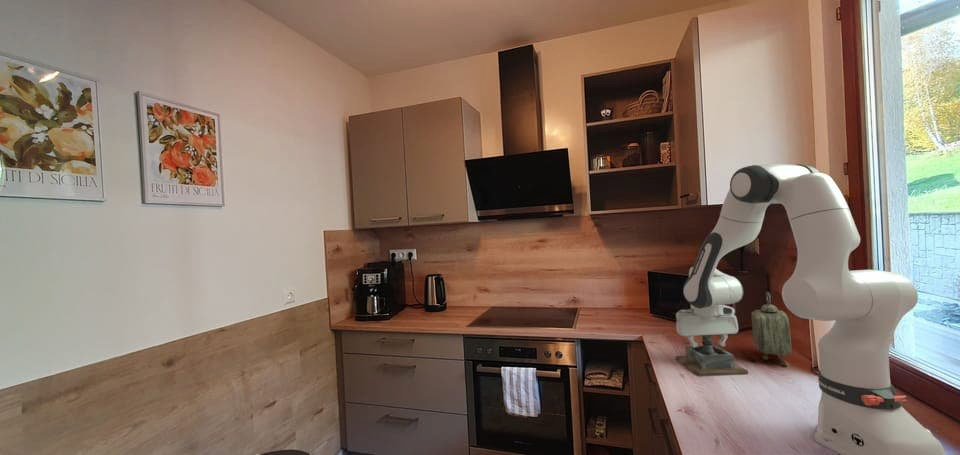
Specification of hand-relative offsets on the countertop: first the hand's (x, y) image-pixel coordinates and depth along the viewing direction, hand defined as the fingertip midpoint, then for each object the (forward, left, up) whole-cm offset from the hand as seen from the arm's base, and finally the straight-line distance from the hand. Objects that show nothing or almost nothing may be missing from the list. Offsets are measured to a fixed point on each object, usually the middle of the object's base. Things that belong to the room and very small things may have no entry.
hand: (708, 346), depth 127 cm
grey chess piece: (0, 0, -6) cm, 6 cm away
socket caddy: (0, 0, -7) cm, 7 cm away
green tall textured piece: (+3, -24, -7) cm, 25 cm away
